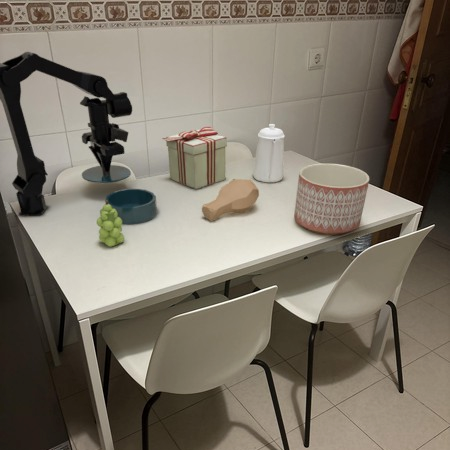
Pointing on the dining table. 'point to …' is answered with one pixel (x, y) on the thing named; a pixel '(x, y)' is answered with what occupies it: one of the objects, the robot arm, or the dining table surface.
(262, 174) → the coffeepot
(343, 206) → the planter
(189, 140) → the gift box
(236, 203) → the squash
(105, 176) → the lid
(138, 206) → the teal round bowl
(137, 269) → the dining table surface
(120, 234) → the grapes
